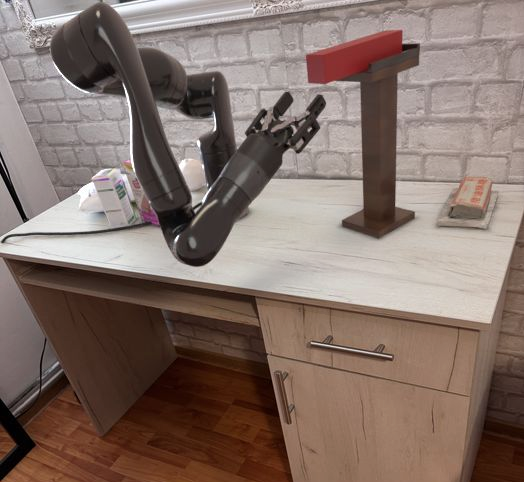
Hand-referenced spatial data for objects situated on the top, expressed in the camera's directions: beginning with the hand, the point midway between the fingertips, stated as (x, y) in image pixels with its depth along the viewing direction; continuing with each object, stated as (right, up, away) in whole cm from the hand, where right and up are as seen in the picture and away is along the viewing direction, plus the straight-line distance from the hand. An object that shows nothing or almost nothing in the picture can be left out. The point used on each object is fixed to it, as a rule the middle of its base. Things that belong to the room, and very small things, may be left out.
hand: (305, 96), depth 83 cm
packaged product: (+39, -13, +24) cm, 47 cm away
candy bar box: (-36, -9, +47) cm, 60 cm away
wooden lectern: (+19, -15, +26) cm, 36 cm away
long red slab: (+10, +7, +4) cm, 13 cm away
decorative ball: (-29, +5, +63) cm, 70 cm away
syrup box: (-46, -9, +50) cm, 69 cm away
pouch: (-53, 0, +64) cm, 83 cm away
